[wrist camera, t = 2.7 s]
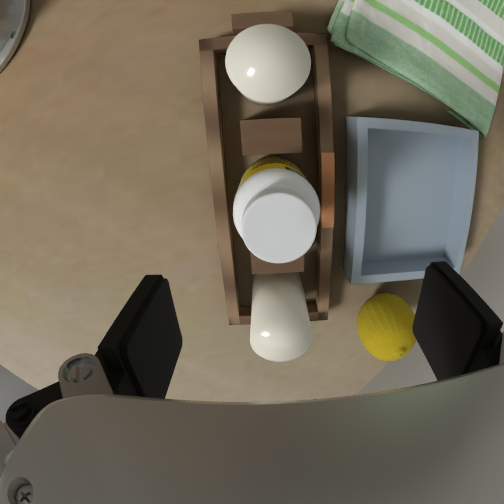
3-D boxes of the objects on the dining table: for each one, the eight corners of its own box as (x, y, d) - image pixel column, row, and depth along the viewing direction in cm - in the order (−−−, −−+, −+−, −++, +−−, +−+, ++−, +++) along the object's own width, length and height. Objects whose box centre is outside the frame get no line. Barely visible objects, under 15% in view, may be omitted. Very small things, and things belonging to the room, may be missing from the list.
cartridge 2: (251, 262, 28) (247, 316, 20) (301, 260, 27) (314, 313, 20) (254, 303, 30) (252, 362, 22) (300, 301, 29) (311, 359, 22)
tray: (345, 116, 22) (356, 117, 19) (459, 127, 21) (478, 131, 18) (342, 267, 28) (350, 284, 25) (445, 260, 27) (459, 274, 24)
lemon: (346, 324, 30) (364, 381, 23) (352, 279, 28) (377, 333, 21) (393, 320, 30) (419, 371, 23) (403, 276, 28) (437, 325, 21)
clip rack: (202, 33, 19) (191, 19, 16) (321, 27, 19) (331, 13, 15) (232, 322, 31) (228, 349, 27) (324, 317, 30) (331, 343, 26)
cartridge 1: (234, 54, 20) (222, 27, 13) (292, 51, 20) (307, 23, 12) (239, 107, 22) (228, 103, 15) (296, 104, 22) (313, 99, 14)
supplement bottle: (313, 164, 24) (344, 195, 15) (295, 225, 26) (312, 285, 17) (248, 147, 23) (240, 168, 14) (233, 210, 26) (218, 265, 17)
